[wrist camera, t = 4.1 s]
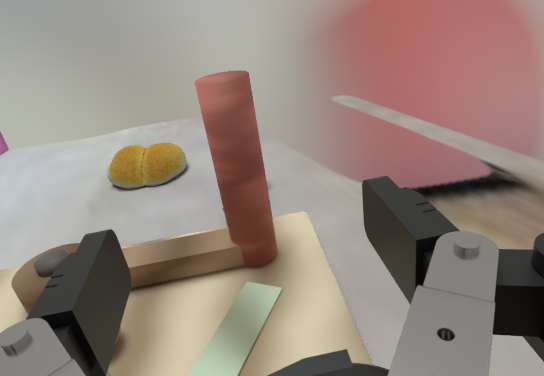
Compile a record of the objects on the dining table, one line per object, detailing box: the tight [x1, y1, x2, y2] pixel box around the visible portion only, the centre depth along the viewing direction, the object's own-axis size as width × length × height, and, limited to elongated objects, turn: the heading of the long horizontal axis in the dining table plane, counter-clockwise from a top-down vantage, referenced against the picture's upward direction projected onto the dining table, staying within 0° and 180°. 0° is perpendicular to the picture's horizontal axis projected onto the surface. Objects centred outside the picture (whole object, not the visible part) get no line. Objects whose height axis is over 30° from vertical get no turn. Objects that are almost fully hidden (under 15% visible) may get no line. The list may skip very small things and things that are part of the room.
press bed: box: [0, 211, 372, 376], centre depth 23 cm, size 25×16×5 cm, turn 98°
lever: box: [11, 71, 277, 315], centre depth 24 cm, size 17×5×12 cm, turn 98°
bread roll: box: [107, 143, 187, 189], centre depth 47 cm, size 8×9×4 cm
